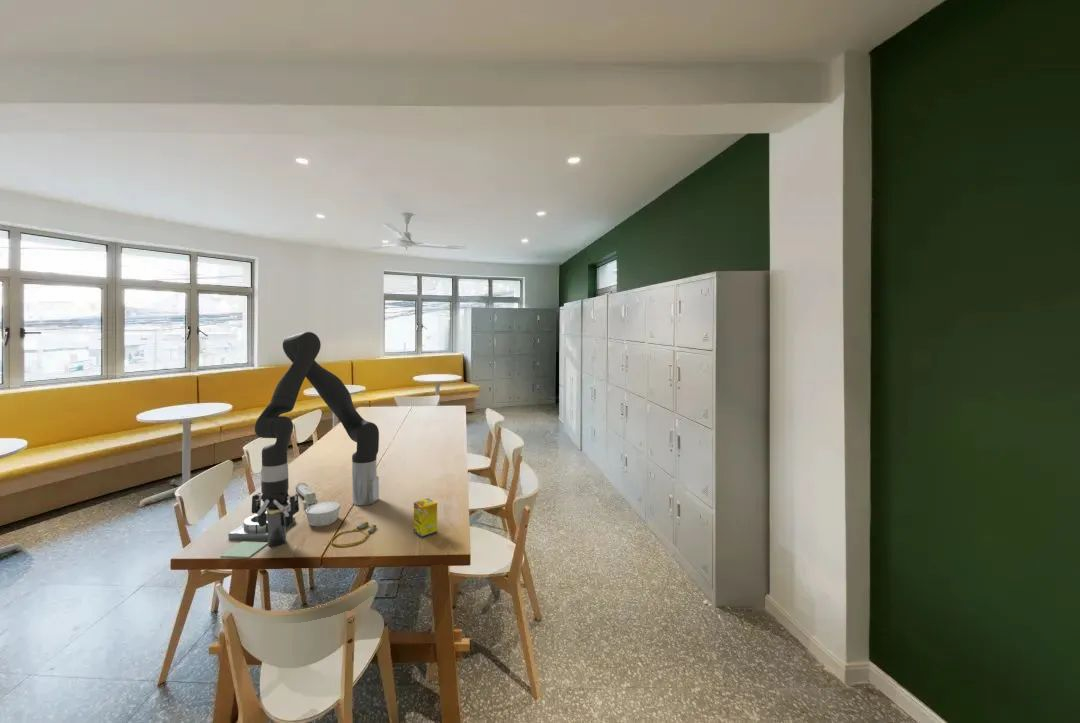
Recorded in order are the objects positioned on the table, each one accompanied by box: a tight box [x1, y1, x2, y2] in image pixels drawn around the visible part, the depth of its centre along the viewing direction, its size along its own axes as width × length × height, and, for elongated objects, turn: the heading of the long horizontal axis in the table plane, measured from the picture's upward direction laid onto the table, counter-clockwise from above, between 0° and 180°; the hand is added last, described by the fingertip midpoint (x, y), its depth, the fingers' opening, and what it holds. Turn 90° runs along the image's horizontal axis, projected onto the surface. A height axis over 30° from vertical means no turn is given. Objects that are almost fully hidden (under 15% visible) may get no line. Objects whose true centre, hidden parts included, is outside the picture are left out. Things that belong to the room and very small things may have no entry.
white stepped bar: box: [295, 482, 319, 510], centre depth 176 cm, size 5×7×25 cm
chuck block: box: [227, 511, 296, 541], centre depth 148 cm, size 14×14×4 cm
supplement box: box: [413, 497, 438, 539], centre depth 148 cm, size 6×6×11 cm
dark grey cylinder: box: [266, 505, 287, 548], centre depth 139 cm, size 5×5×12 cm
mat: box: [220, 541, 268, 559], centre depth 135 cm, size 9×9×1 cm
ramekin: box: [305, 501, 341, 527], centre depth 156 cm, size 11×11×5 cm
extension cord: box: [330, 521, 377, 548], centre depth 145 cm, size 12×16×2 cm
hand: (275, 525), depth 139 cm, fingers open, 8 cm apart
